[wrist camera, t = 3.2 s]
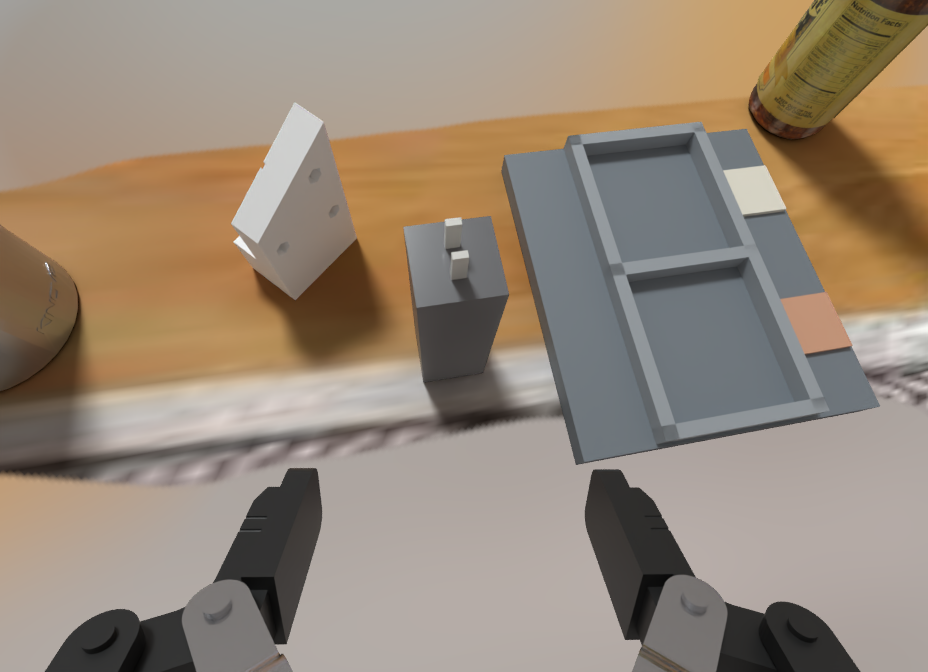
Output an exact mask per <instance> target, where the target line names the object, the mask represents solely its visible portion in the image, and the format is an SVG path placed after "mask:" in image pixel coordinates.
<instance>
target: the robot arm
mask: <svg viewBox="0 0 928 672" xmlns="http://www.w3.org/2000/svg"><path fill="white" fill-rule="evenodd" d="M77 311H78V295H77V291H76V288H75V285H74V282H73V280H72V279H71V277H70V276H69V274H68V273H67V271H66V270H65V269H64V268H62V267H61V266H60V265H59V264H58V263H57V262H55V261H54V260H52V259H51V258H49V257H48V256H46V255H45V254H43V253H42V252H40V251H39V250H37V249H36V248H34V247H33V246H31V245H30V244H28V243H27V242H25V241H23V240H22V239H20V238H19V237H17V236H16V235H14V234H13V233H11V232H10V231H8V230H7V229H6V228H4V227H3V226H1V225H0V391H3V390H6V389H9V388H11V387H13V386H15V385H17V384H19V383H21V382H23V381H25V380H27V379H28V378H30V377H31V376H32V375H34V374H35V373H37V372H38V371H39V370H41V369H42V368H43V367H44V366H45V365H46V364H48V363H49V362H50V361H51V360H52V359H53V358H54V357H55V356H56V355H57V353H58V352H59V351H60V349H61V348H62V346H63V345H64V344H65V342H66V341H67V339H68V337H69V335H70V333H71V331H72V329H73V326H74V324H75V320H76V315H77ZM321 521H322V505H321V496H320V488H319V480H318V472H317V469H316V468H290V469H288V471H287V472H286V475H285V477H284V479H283V481H282V484H281V486H280V487H268V488H267V489H265V490H264V491H263V492H262V493H261V494H260V495H259V496H258V497H257V498H256V499H255V500H254V501H253V503H252V505H251V507H250V509H249V512H248V513H247V516H246V519H245V520H244V522H243V524H242V526H241V528H240V532H238V534H237V536H236V538H235V540H234V542H233V544H232V546H231V548H230V550H229V552H228V554H227V556H226V558H225V561H224V563H223V564H222V566H221V569H220V571H219V573H218V575H217V577H216V579H215V580H214V582H213V584H210V585H208V586H207V587H205V588H203V589H202V590H200V591H199V592H198V593H197V594H196V595H194V596H193V597H192V599H191V600H190V601H189V602H188V604H187V606H186V607H184V608H182V609H180V610H177V611H174V612H171V613H168V614H165V615H161V616H158V617H154V618H151V619H148V620H144V621H141V622H140V621H139V618H138V617H137V615H136V614H135V613H134V612H132V611H130V610H125V609H116V610H111V611H107V612H104V613H101V614H99V615H97V616H95V617H92V618H91V619H89V620H87V621H86V622H84V623H83V624H82V625H81V626H79V627H78V628H77V629H76V630H75V631H73V632H72V633H71V635H70V636H69V637H68V638H67V639H66V641H65V642H64V643H63V645H62V646H61V648H60V649H59V651H58V652H57V654H56V655H55V657H54V659H53V660H52V662H51V663H50V665H49V666H48V668H47V669H46V671H45V672H292V669H291V667H290V665H289V663H288V661H287V659H286V658H285V656H284V655H283V654H281V655H280V654H279V652H278V650H277V648H276V646H275V644H287V640H288V637H289V634H290V631H291V627H292V624H293V620H294V617H295V613H296V610H297V607H298V603H299V600H300V596H301V593H302V590H303V586H304V583H305V580H306V576H307V573H308V570H309V566H310V563H311V559H312V556H313V553H314V549H315V546H316V543H317V539H318V535H319V532H320V528H321ZM585 522H586V528H587V532H588V535H589V538H590V541H591V543H592V546H593V549H594V552H595V555H596V558H597V561H598V564H599V566H600V569H601V572H602V575H603V578H604V581H605V584H606V586H607V589H608V592H609V595H610V598H611V601H612V604H613V606H614V609H615V612H616V615H617V618H618V621H619V624H620V627H621V629H622V632H623V635H624V638H625V640H640V641H641V644H642V647H641V649H640V651H639V654H638V657H637V660H636V662H635V666H634V668H633V671H632V672H860V671H859V669H858V668H857V667H856V665H855V663H854V662H853V660H852V659H851V658H850V656H849V655H848V653H847V652H846V650H845V649H844V647H843V646H842V645H841V643H840V642H839V641H838V639H837V638H836V636H835V635H834V633H833V632H832V631H831V629H830V628H829V627H828V626H827V624H826V623H825V622H824V621H823V620H821V619H820V618H819V617H818V616H816V615H815V614H814V613H812V612H810V611H809V610H807V609H805V608H803V607H801V606H799V605H796V604H793V603H789V602H776V603H773V604H771V605H770V606H769V607H768V608H767V610H766V613H765V614H763V613H759V612H756V611H752V610H749V609H745V608H741V607H738V606H734V605H731V604H729V603H726V602H724V601H723V599H722V597H721V596H720V595H719V594H718V592H717V591H716V590H715V589H714V588H712V587H711V586H710V585H709V584H707V583H706V582H704V581H702V580H700V579H698V578H696V577H695V575H694V573H693V572H692V570H691V568H690V566H689V564H688V563H687V561H686V559H685V557H684V555H683V553H682V552H681V550H680V548H679V546H678V544H677V543H676V541H675V539H674V537H673V535H672V533H671V532H670V531H669V530H668V526H667V525H666V523H665V521H664V519H662V515H661V513H660V512H659V510H658V508H657V506H656V504H655V503H654V501H653V500H652V499H651V498H650V497H649V496H648V495H647V494H646V493H645V492H643V491H642V490H641V489H640V488H630V487H629V485H628V483H627V481H626V479H625V477H624V475H623V473H622V472H621V470H593V472H592V475H591V480H590V485H589V491H588V496H587V501H586V507H585Z"/></svg>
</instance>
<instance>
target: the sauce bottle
mask: <svg viewBox="0 0 928 672" xmlns="http://www.w3.org/2000/svg"><path fill="white" fill-rule="evenodd" d="M926 26H928V0H814V2H813V3H812V5H811V6H810V8H809V9H808V10H807V12H806V13H805V14H804V16H803V17H802V18H801V20H800V21H799V23H798V24H797V25H796V27H795V28H794V29H793V31H792V32H791V33H790V35H789V36H788V38H787V39H786V41H785V42H784V43H783V44H782V46H781V47H780V49H779V50H778V51H777V53H776V54H775V56H774V57H773V59H772V60H771V61H770V62H769V64H768V65H767V67H766V68H765V69H764V71H763V72H762V74H761V75H760V76H759V79H758V82H757V84H756V86H755V87H754V88H753V91H752V93H751V96H750V99H749V108H750V111H751V112H752V113H753V116H754V117H755V119H756V121H757V122H758V123H759V124H760V125H762V126H763V127H764V128H765V129H766V130H768V131H769V132H770V133H773V134H776V135H777V136H779V137H783V138H786V139H789V140H791V139H800V138H804V137H808V136H810V135H813V134H815V133H817V132H819V131H820V130H821V129H822V128H823V127H824V126H825V125H826V124H827V123H828V122H830V121H831V120H832V119H833V118H835V117H836V116H837V115H838V114H839V113H840V112H841V111H842V110H843V109H844V108H845V107H846V106H847V105H848V104H849V103H850V102H851V101H852V100H853V99H854V98H855V97H857V96H858V95H859V94H860V93H861V91H862V90H863V89H864V88H865V87H866V86H867V85H868V84H869V83H870V82H871V81H872V80H873V79H874V78H875V77H876V76H877V75H878V74H879V73H881V72H882V71H883V70H884V68H886V67H887V66H888V64H890V62H891V61H892V60H893V59H894V58H895V57H896V56H897V55H898V54H899V53H900V52H901V51H903V50H904V49H905V48H906V47H907V46H908V45H909V44H910V42H912V41H913V40H914V39H915V38H916V36H918V35H919V34H920V33H921V32H922V30H924V29H925V28H926Z"/></svg>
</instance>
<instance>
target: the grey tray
mask: <svg viewBox="0 0 928 672" xmlns="http://www.w3.org/2000/svg"><path fill="white" fill-rule="evenodd" d="M502 175H503V179H504V183H505V187H506V191H507V195H508V199H509V203H510V207H511V211H512V214H513V218H514V222H515V226H516V230H517V234H518V238H519V242H520V246H521V250H522V254H523V258H524V262H525V266H526V270H527V274H528V278H529V281H530V285H531V289H532V293H533V297H534V301H535V305H536V309H537V313H538V317H539V321H540V325H541V329H542V333H543V337H544V341H545V345H546V348H547V352H548V356H549V360H550V364H551V368H552V372H553V376H554V380H555V384H556V388H557V392H558V396H559V400H560V404H561V408H562V412H563V415H564V419H565V423H566V427H567V431H568V435H569V439H570V443H571V447H572V451H573V455H574V459H575V463H576V465H578V464H583V463H588V462H593V461H599V460H604V459H609V458H615V457H620V456H625V455H631V454H636V453H641V452H647V451H652V450H657V449H662V448H668V447H673V446H678V445H684V444H689V443H694V442H700V441H705V440H710V439H715V438H721V437H726V436H732V435H736V434H742V433H747V432H753V431H758V430H763V429H769V428H774V427H779V426H785V425H790V424H795V423H801V422H806V421H811V420H816V419H822V418H827V417H832V416H838V415H843V414H848V413H854V412H858V411H863V410H867V409H871V408H875V407H879V406H880V405H879V403H878V401H877V399H876V397H875V395H874V392H873V390H872V388H871V386H870V384H869V382H868V380H867V378H866V376H865V374H864V372H863V370H862V368H861V366H860V363H859V361H858V359H857V357H856V355H855V353H854V351H853V349H852V347H851V346H853V345H852V343H851V341H850V339H849V337H848V335H847V333H846V331H845V329H844V327H843V325H842V323H841V321H840V319H839V317H838V314H837V312H836V310H835V308H834V306H833V304H832V302H831V300H830V298H829V296H828V294H827V292H825V291H824V289H823V287H822V285H821V283H820V280H819V278H818V276H817V274H816V272H815V270H814V268H813V266H812V264H811V262H810V260H809V258H808V256H807V253H806V251H805V249H804V247H803V245H802V243H801V241H800V239H799V237H798V235H797V233H796V231H795V229H794V227H793V224H792V222H791V220H790V218H789V216H788V214H787V212H786V207H785V205H784V203H783V201H782V199H781V196H780V194H779V192H778V190H777V188H776V186H775V184H774V182H773V180H772V178H771V176H770V174H769V172H768V170H767V168H766V165H764V164H763V162H762V160H761V158H760V156H759V154H758V152H757V150H756V148H755V146H754V144H753V141H752V139H751V137H750V135H749V133H748V131H747V129H741V130H731V131H722V132H713V133H706V131H705V129H704V127H703V124H702V122H695V123H686V124H676V125H667V126H658V127H648V128H639V129H629V130H620V131H610V132H601V133H592V134H582V135H573V136H568V138H567V141H566V144H565V146H564V149H558V150H549V151H539V152H530V153H521V154H512V155H504V161H503V166H502Z"/></svg>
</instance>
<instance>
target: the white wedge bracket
mask: <svg viewBox="0 0 928 672" xmlns="http://www.w3.org/2000/svg"><path fill="white" fill-rule="evenodd" d="M264 164H265V166H264V167H263V169H262V168H260V169H259V171H258V173H257V175H256V177H255V179H254V181H253V183H252V185H251V187H250V189H249V190H248V192H247V194H246V196H245V198H244V200H243V202H242V204H241V206H240V208H239V210H238V211H237V213H236V215H235V217H234V219H233V221H232V223H231V224H232V226H233V227H234V228H235V230H236V231H237V233H238V234H239V235H240V236H239V237H238V238H237V239H236V240H235V241H234V243H235V245H236V246H237V247H238V249H239V250H240V251H241V253H242V254H243V255H244V257H245V258H246V259H247V261H248V262H249V263H250V265H251V266H252V267H253V268H254V269H255V270H256V271H258V272H259V273H260V274H261V275H263V276H264V277H265V278H267V279H268V280H269V281H271V282H272V283H273V284H275V285H276V286H277V287H278V288H280V289H281V290H282V291H284V292H285V293H286V294H288V295H289V296H290V297H291V298H293V299H294V300H296V299H297V298H298V297H299V296H300V295H301V294H302V293H303V292H304V291H305V290H306V289H307V288H308V287H309V286H310V285H311V284H312V283H313V282H314V281H315V280H316V279H317V278H318V277H319V276H320V275H321V274H322V273H323V272H324V271H325V270H326V269H327V268H328V267H329V266H330V265H331V264H332V263H333V262H334V261H335V260H336V259H337V258H338V257H339V256H340V255H341V254H342V253H343V252H344V251H345V250H346V249H347V248H348V247H349V246H350V245H351V244H352V243H353V242H354V241H355V240H356V239H357V236H356V233H355V229H354V226H353V222H352V219H351V215H350V212H349V208H348V205H347V201H346V198H345V194H344V191H343V187H342V184H341V180H340V177H339V173H338V170H337V166H336V163H335V159H334V156H333V152H332V149H331V145H330V142H329V138H328V135H327V132H326V128H325V125H324V122H323V121H321V120H320V119H319V118H317V117H316V116H314V115H313V114H311V113H310V112H308V111H307V110H305V109H304V108H302V107H301V106H300V105H298V104H296V103H294V104H293V106H292V109H291V110H290V112H289V114H288V116H287V118H286V120H285V122H284V124H283V126H282V127H281V129H280V132H279V133H278V135H277V137H276V139H275V141H274V143H273V145H272V146H271V148H270V150H269V152H268V154H267V156H266V158H265V160H264Z"/></svg>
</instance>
